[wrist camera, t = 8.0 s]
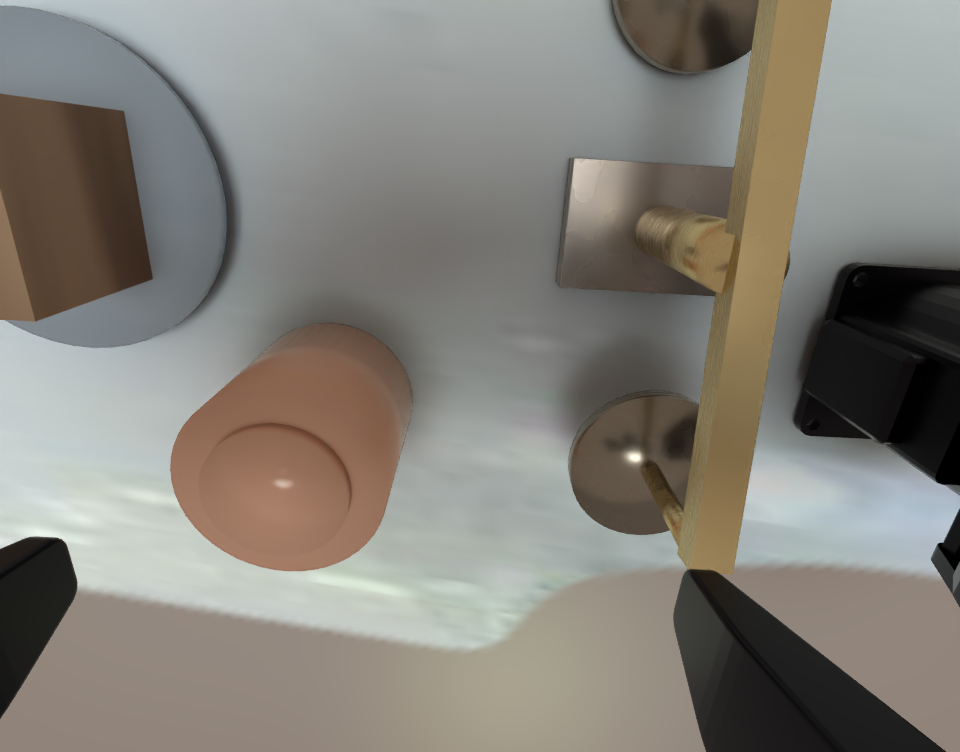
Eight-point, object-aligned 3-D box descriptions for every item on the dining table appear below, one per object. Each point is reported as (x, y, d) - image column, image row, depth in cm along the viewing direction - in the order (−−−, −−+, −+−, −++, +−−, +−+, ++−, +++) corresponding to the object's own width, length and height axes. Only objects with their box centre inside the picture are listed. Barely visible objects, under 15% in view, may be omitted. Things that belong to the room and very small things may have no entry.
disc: (214, 27, 16) (195, 17, 15) (249, 345, 20) (237, 355, 19) (-129, 4, 16) (-173, -7, 15) (-27, 330, 19) (-55, 339, 18)
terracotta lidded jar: (413, 327, 19) (382, 403, 13) (412, 468, 22) (385, 587, 16) (247, 318, 19) (141, 390, 13) (263, 461, 21) (179, 578, 15)
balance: (821, -126, 14) (1265, -498, 6) (682, 472, 22) (805, 661, 13) (602, -142, 14) (765, -543, 6) (535, 465, 21) (569, 652, 13)
